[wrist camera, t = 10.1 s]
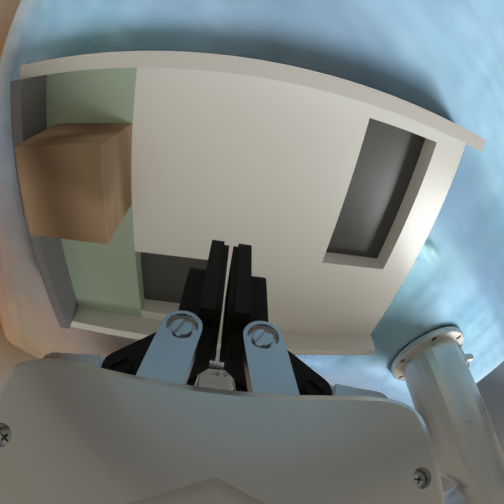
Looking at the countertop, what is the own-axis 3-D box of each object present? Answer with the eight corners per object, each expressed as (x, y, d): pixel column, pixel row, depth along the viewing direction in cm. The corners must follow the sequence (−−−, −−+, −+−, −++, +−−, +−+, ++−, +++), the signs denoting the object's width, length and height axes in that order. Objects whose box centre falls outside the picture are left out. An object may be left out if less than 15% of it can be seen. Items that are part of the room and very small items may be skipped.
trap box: (455, 124, 19) (493, 144, 15) (362, 326, 33) (374, 361, 29) (51, 60, 15) (11, 67, 11) (79, 298, 28) (63, 333, 24)
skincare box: (199, 366, 36) (193, 453, 26) (232, 369, 37) (233, 456, 27) (197, 387, 40) (192, 464, 30) (226, 390, 40) (226, 466, 30)
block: (132, 123, 17) (100, 145, 13) (131, 204, 20) (107, 244, 16) (56, 123, 16) (14, 147, 12) (62, 198, 19) (30, 234, 15)
